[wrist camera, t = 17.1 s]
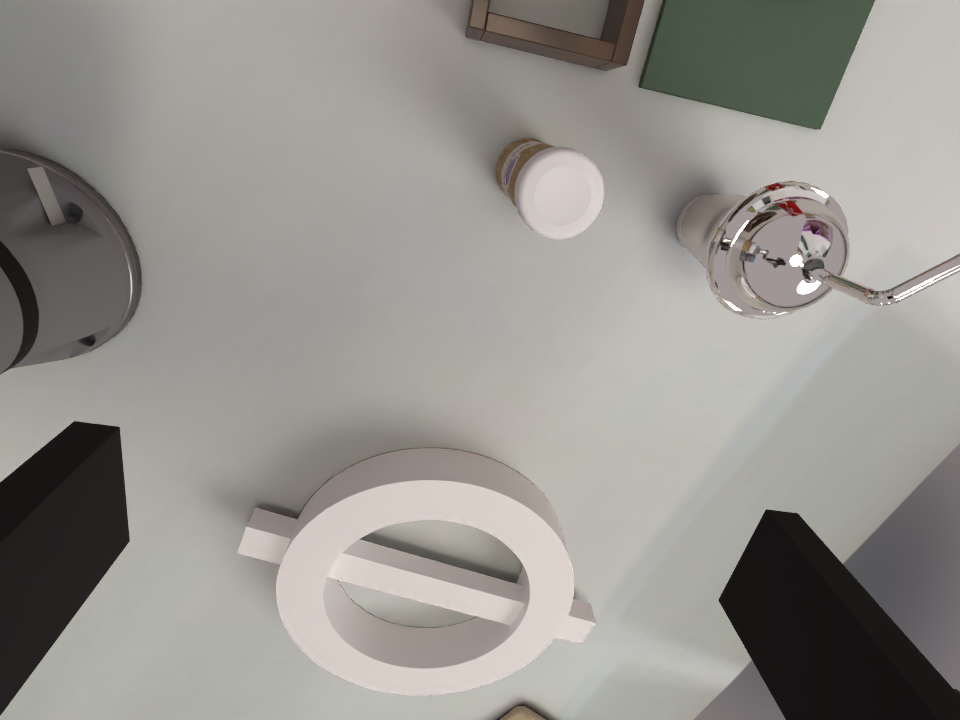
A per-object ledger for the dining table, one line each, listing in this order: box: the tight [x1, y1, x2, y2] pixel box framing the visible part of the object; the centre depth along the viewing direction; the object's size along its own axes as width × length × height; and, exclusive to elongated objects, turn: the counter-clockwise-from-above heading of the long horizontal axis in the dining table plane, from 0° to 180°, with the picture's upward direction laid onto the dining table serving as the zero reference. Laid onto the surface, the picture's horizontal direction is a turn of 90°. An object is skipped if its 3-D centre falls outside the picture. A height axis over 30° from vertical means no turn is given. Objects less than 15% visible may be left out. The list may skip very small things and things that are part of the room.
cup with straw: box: [676, 181, 960, 319], centre depth 33 cm, size 8×9×20 cm
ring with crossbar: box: [238, 448, 596, 695], centre depth 53 cm, size 28×28×5 cm
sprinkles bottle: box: [497, 138, 604, 239], centre depth 33 cm, size 5×5×13 cm
